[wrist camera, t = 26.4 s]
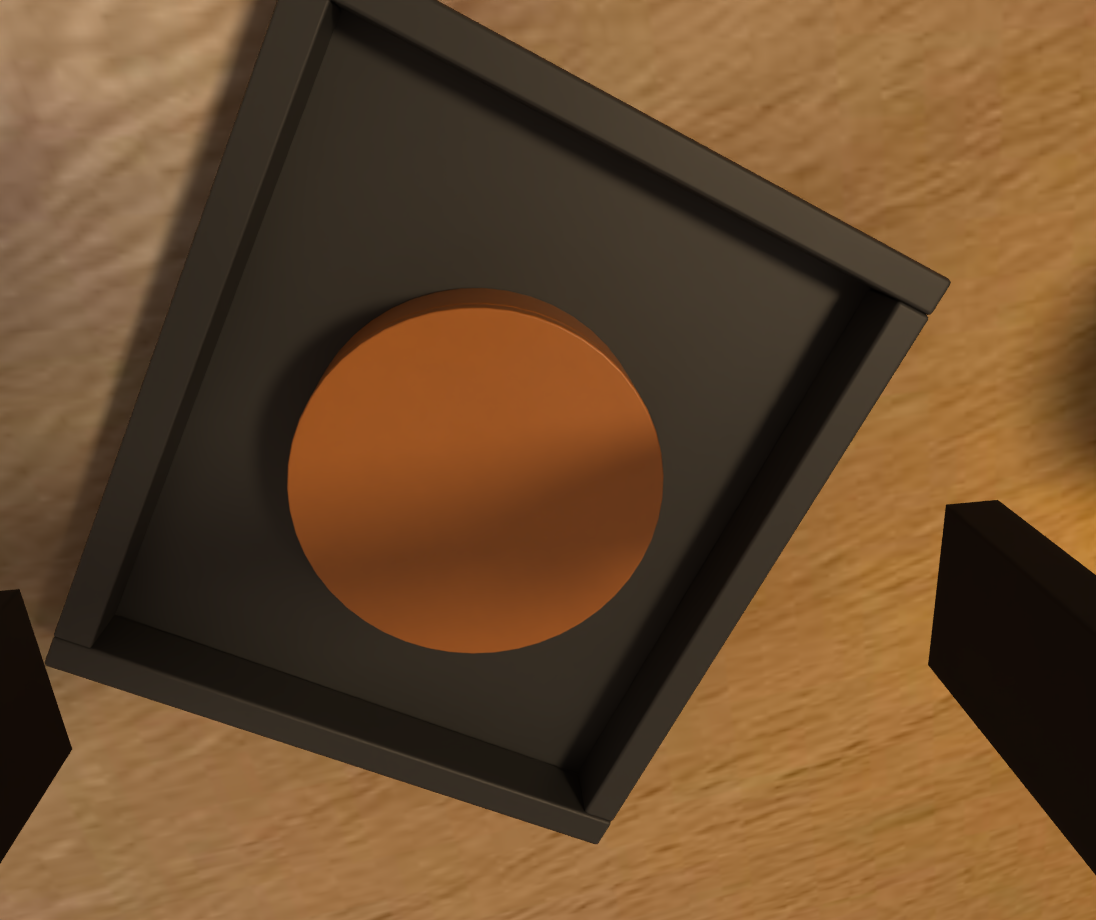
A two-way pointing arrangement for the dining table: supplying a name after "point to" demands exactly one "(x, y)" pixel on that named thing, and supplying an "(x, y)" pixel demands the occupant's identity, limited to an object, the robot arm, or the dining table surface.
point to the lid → (475, 472)
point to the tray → (455, 263)
